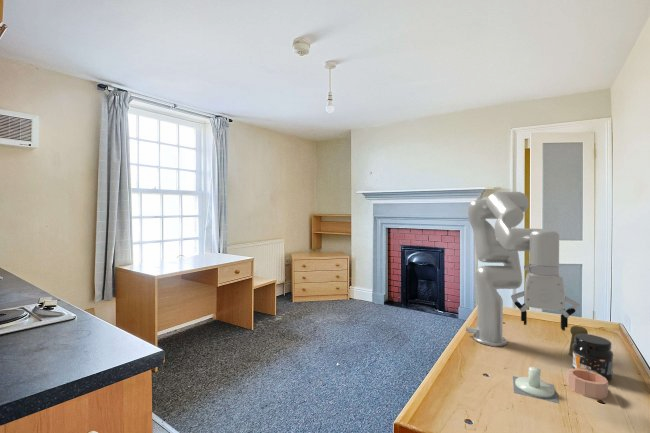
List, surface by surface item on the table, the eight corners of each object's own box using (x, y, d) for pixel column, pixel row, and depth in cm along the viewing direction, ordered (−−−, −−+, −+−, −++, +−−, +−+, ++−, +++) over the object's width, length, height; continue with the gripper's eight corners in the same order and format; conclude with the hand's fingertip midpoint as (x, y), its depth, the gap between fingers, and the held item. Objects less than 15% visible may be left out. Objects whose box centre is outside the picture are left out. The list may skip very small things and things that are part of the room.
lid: (515, 392, 96) (516, 372, 96) (514, 377, 105) (514, 358, 105) (556, 401, 92) (557, 380, 92) (551, 385, 100) (552, 365, 100)
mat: (514, 394, 96) (514, 392, 96) (512, 377, 106) (512, 376, 106) (559, 405, 91) (559, 403, 91) (553, 386, 101) (553, 384, 101)
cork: (592, 360, 118) (593, 330, 118) (573, 358, 120) (574, 329, 119) (582, 353, 124) (583, 324, 124) (565, 351, 126) (565, 323, 125)
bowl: (570, 395, 96) (571, 379, 96) (565, 380, 104) (565, 365, 104) (611, 403, 92) (611, 387, 92) (602, 388, 100) (602, 372, 100)
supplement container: (564, 369, 111) (565, 335, 111) (584, 364, 115) (585, 331, 115) (599, 385, 102) (600, 347, 101) (620, 379, 105) (621, 342, 105)
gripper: (511, 269, 100) (510, 325, 100) (581, 275, 91) (581, 335, 91) (511, 266, 106) (510, 318, 106) (577, 271, 98) (576, 327, 98)
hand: (543, 326), depth 99 cm, fingers open, 9 cm apart
